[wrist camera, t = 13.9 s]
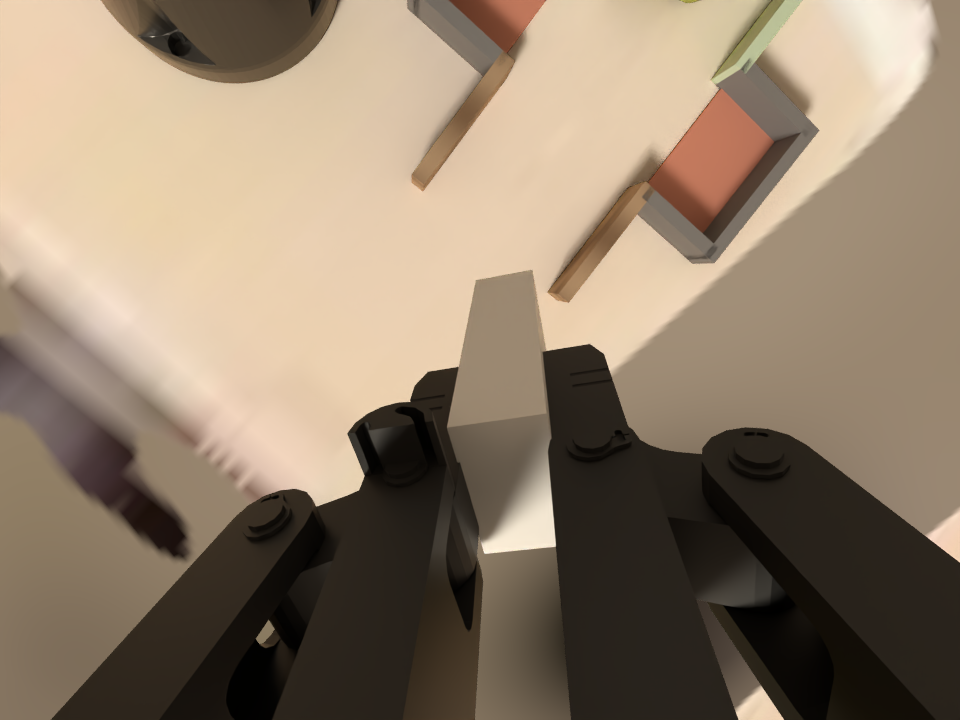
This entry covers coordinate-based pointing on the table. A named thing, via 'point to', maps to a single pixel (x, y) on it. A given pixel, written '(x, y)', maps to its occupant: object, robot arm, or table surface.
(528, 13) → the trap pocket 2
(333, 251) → the table surface
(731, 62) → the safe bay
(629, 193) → the chute
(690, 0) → the plant pot
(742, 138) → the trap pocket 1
